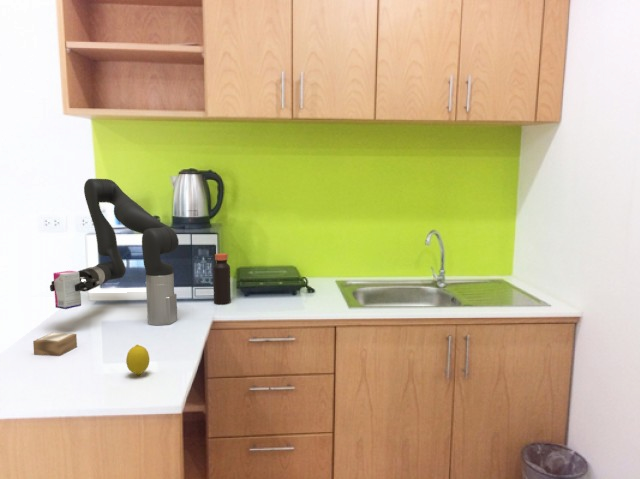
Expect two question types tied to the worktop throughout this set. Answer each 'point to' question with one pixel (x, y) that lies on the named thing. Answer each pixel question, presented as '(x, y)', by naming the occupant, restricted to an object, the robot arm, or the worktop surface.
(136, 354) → the lemon
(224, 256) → the bottle
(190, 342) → the worktop surface
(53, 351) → the wooden block
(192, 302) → the worktop surface
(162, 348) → the worktop surface
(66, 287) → the supplement box
